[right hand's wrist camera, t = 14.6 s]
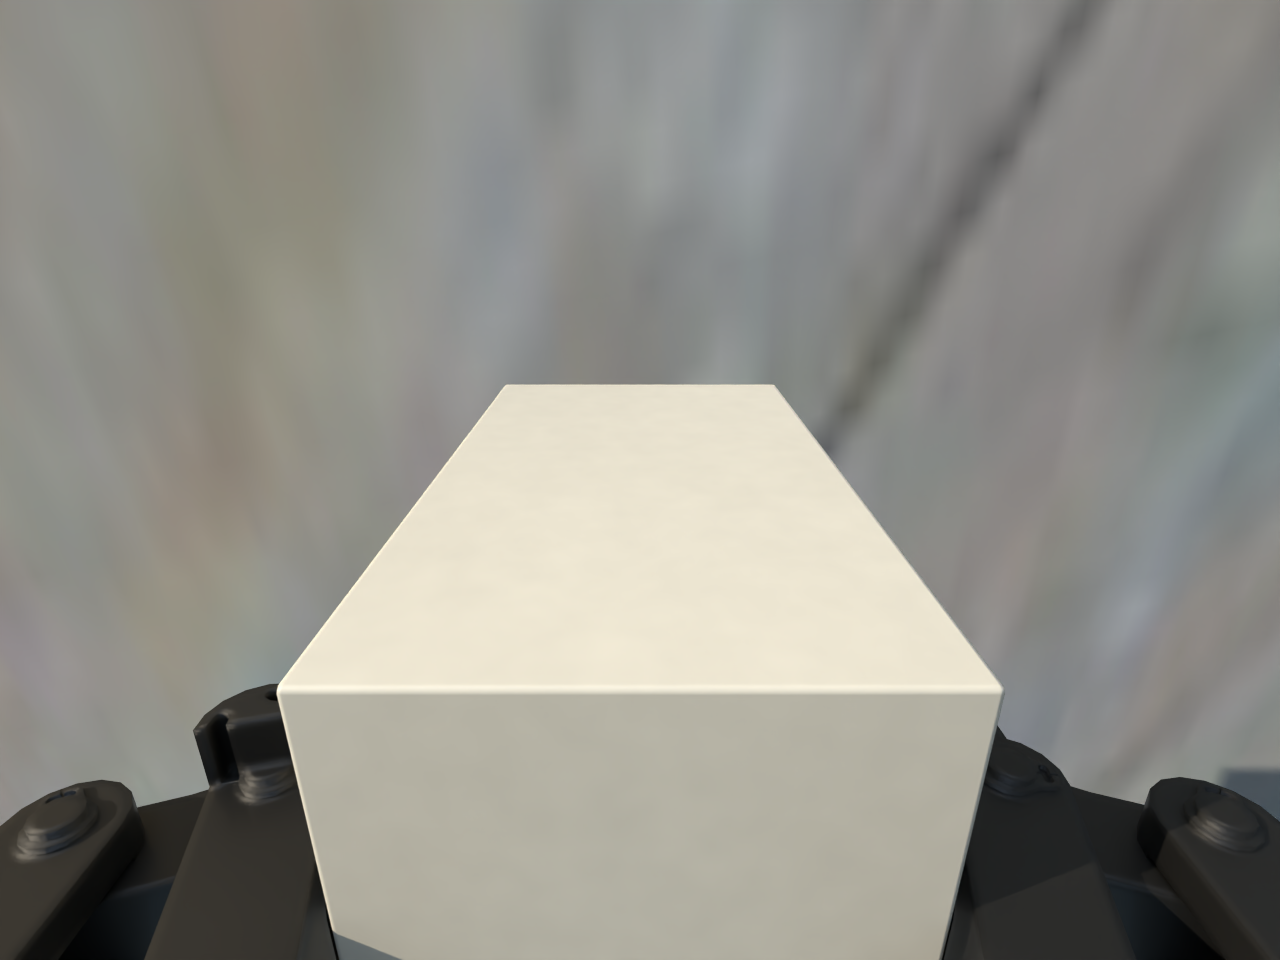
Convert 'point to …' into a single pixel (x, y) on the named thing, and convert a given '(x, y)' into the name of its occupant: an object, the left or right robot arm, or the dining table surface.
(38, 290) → the dining table surface
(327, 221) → the dining table surface
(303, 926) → the right robot arm
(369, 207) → the dining table surface
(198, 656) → the dining table surface
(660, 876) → the bar
